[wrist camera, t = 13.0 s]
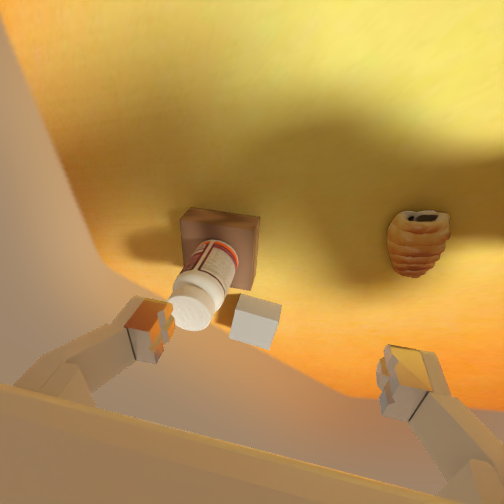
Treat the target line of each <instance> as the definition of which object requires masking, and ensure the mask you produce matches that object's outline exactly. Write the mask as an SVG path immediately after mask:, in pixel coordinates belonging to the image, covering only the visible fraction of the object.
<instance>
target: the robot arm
mask: <svg viewBox="0 0 504 504" xmlns="http://www.w3.org/2000/svg"><path fill="white" fill-rule="evenodd" d="M172 311H173V305H172V304H171V303H169V302H164V301H159V300H155V299H150V298H144V297H140V296H134V297H133V298H132V299H131V300H130V301H129V302H128V303H127V305H126V306H125V307H124V308H123V309H122V311H121V312H120V313H119V314H118V316H117V317H116V318H115V319H114V320H113V321H112V323H111V324H105V325H103V326H101V327H99V328H97V329H95V330H93V331H91V332H89V333H87V334H85V335H82V336H81V337H78V338H76V339H74V340H72V341H71V342H68V343H66V344H64V345H62V346H60V347H58V348H56V349H54V350H52V351H49V352H47V353H46V354H43V355H42V356H41V357H40V358H39V359H38V360H37V361H36V362H35V363H34V364H33V365H32V366H31V367H30V368H29V369H28V370H27V371H26V372H25V373H24V374H23V375H22V376H21V377H20V378H19V379H18V380H17V381H16V382H15V383H14V384H13V385H12V386H11V385H7V384H4V383H0V504H504V444H503V443H502V442H501V441H500V440H499V439H498V438H497V437H496V436H495V435H494V434H493V433H492V432H491V431H490V430H489V429H488V428H487V427H486V426H485V425H484V424H482V422H481V421H480V420H479V419H478V418H477V417H476V416H475V415H474V414H473V413H472V412H471V411H470V410H469V409H468V408H467V407H466V406H465V405H464V404H463V403H462V402H461V401H460V400H459V399H458V398H456V397H452V395H451V392H450V390H449V387H448V384H447V382H446V379H445V376H444V374H443V371H442V368H441V366H440V363H439V360H438V358H437V355H436V354H435V353H433V352H427V351H422V350H417V349H411V348H406V347H400V346H395V345H389V344H388V345H387V346H386V347H385V349H384V356H385V357H383V358H381V359H380V360H379V363H378V366H377V372H376V376H377V386H378V387H379V388H380V389H381V391H382V393H381V395H380V397H379V399H380V405H381V412H382V416H385V417H389V418H393V419H397V420H401V421H405V422H408V424H409V426H410V427H411V429H412V430H413V432H414V433H415V435H416V436H417V437H418V439H419V441H420V442H421V444H422V445H423V446H424V448H425V450H426V451H427V452H428V454H429V455H430V457H431V458H432V460H433V461H434V463H435V464H436V466H437V467H438V469H439V470H440V472H441V473H442V475H443V476H444V478H445V479H446V481H447V482H448V483H447V484H446V485H445V486H444V487H443V488H442V489H441V490H440V491H439V492H438V493H437V494H436V495H431V494H427V493H423V492H419V491H415V490H411V489H407V488H403V487H400V486H396V485H392V484H388V483H384V482H380V481H377V480H373V479H369V478H365V477H361V476H357V475H354V474H350V473H346V472H342V471H338V470H334V469H330V468H327V467H323V466H319V465H315V464H311V463H308V462H304V461H300V460H296V459H292V458H288V457H285V456H281V455H277V454H273V453H269V452H266V451H262V450H258V449H254V448H250V447H246V446H242V445H238V444H235V443H231V442H227V441H223V440H219V439H215V438H212V437H207V436H204V435H200V434H196V433H192V432H188V431H185V430H181V429H177V428H173V427H169V426H165V425H162V424H158V423H154V422H150V421H145V420H142V419H138V418H135V417H131V416H126V415H123V414H119V413H115V412H111V411H108V410H104V409H100V408H97V406H96V403H95V400H94V398H93V396H92V393H93V392H95V391H96V390H97V389H98V388H100V387H101V386H102V385H104V384H105V383H107V382H108V381H110V380H111V379H112V378H114V377H115V376H116V375H118V374H119V373H120V372H122V371H123V370H125V369H126V368H127V367H129V366H130V365H132V364H133V363H134V362H135V360H137V361H141V362H146V363H152V364H157V362H158V360H159V358H160V357H161V355H162V353H163V351H164V347H163V345H164V344H165V343H167V342H169V341H170V339H171V337H172V335H173V332H174V329H175V318H174V317H173V316H172V315H171V313H172Z"/></svg>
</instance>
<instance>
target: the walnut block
mask: <svg viewBox="0 0 504 504" xmlns="http://www.w3.org/2000/svg"><path fill="white" fill-rule="evenodd" d="M259 224H260V217H256V216H249V215H242V214H235V213H227V212H220V211H213V210H206V209H199V208H190V209H189V210H188V211H187V213H186V214H185V215H184V216H183V217H182V218H181V219H180V226H181V238H182V249H183V260H184V266H185V265H186V263H187V262H188V260H189V259H190V257H191V256H192V255H193V253H194V252H195V250H196V249H197V247H198V246H199V245H200V244H201V243H202V242H204V241H207V240H220V241H223V242H225V243H227V244H228V245H230V246H231V247H232V248H233V249H234V250H235V252H236V254H237V256H238V267H237V270H236V272H235V275H234V277H233V280H232V283H231V285H230V287H231V288H237V289H243V290H249V291H251V288H252V284H253V281H254V278H255V275H256V263H257V250H258V237H259Z"/></svg>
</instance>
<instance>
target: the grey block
mask: <svg viewBox="0 0 504 504" xmlns="http://www.w3.org/2000/svg"><path fill="white" fill-rule="evenodd" d="M281 307H282V305H279V304H276V303H272V302H269V301H265V300H262V299H258V298H255V297H251V296H248V295H244V294H241V295H240V298H239V300H238V303H237V306H236V309H235V313H234V317H233V322H232V326H231V331H230V335H229V338H230V339H234V340H238V341H241V342H244V343H247V344H251V345H254V346H257V347H261V348H264V349H267V350H269V348H270V346H271V343H272V340H273V337H274V334H275V331H276V329H277V326H278V323H279V318H280V313H281Z"/></svg>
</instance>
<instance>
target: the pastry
mask: <svg viewBox="0 0 504 504" xmlns="http://www.w3.org/2000/svg"><path fill="white" fill-rule="evenodd" d="M450 219H451V217H450V216H449V215H448V214H447V213H444V212H436V211H435V210H426V211H419V212H414V211H402V212H400V213H399V214H397V215H396V216H395V217H394V219H393V220H392V222H391V224H390V225H389V227H388V230H387V248H388V252H389V255H390V260H391V262H392V265H393V268H394V270H395V271H396V272H397V273H398V274H400V275H402V276H407V277H412V278H418V277H420V276H421V275H424V274H425V273H426V272H427V271H428V270H429V269H431V268H433V266H434V265H435V262H436V261H438V260H439V259H440V255H441V253H442V252H443V251H444V250H445V242H446V240H448V239H449V237H450V229H449V221H450Z"/></svg>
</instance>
